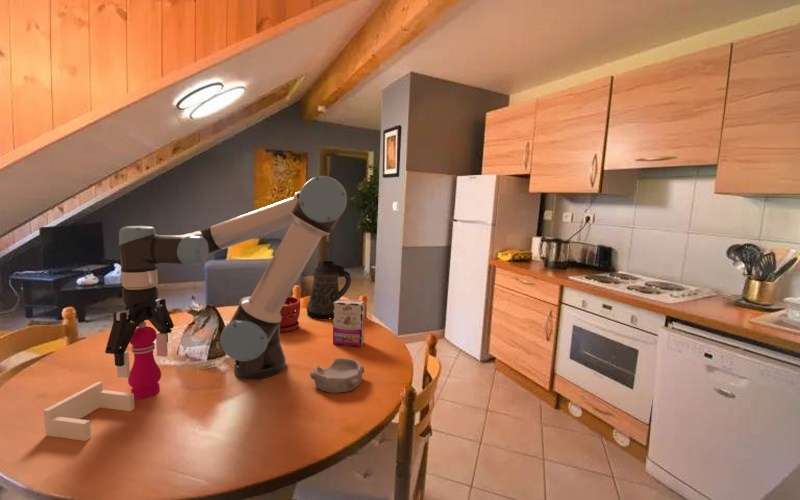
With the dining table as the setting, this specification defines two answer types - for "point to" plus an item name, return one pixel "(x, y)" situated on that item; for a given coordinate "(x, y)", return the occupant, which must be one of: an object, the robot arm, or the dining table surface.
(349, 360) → the dish
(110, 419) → the dining table surface
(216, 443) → the dining table surface
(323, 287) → the beer stein
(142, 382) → the pepper mill
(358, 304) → the candy bar box
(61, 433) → the bracket
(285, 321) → the plant pot
